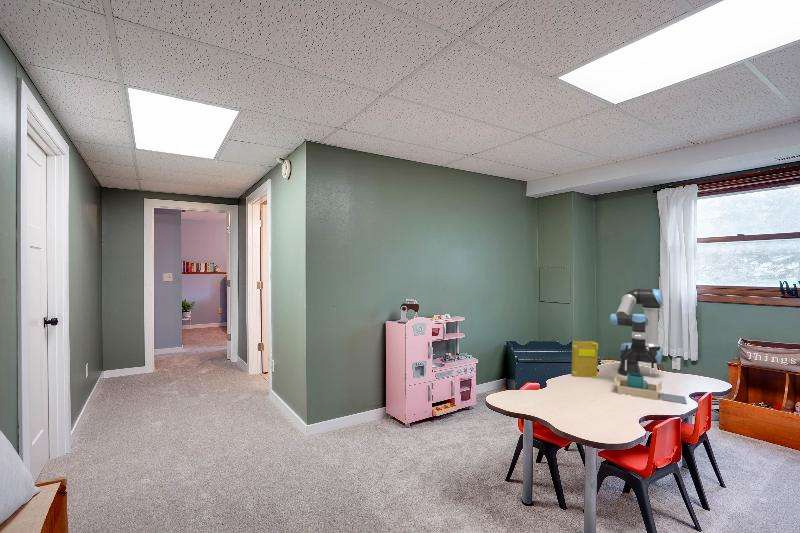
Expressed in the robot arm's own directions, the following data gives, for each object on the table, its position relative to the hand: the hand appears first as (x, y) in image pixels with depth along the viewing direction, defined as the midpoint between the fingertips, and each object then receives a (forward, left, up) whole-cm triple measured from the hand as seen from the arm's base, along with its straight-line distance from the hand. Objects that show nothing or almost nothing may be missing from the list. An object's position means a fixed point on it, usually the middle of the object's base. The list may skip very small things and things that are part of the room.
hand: (638, 371), depth 255 cm
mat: (0, +19, -14) cm, 23 cm away
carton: (0, 0, -14) cm, 14 cm away
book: (-24, -34, -14) cm, 44 cm away
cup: (0, 0, -14) cm, 14 cm away
